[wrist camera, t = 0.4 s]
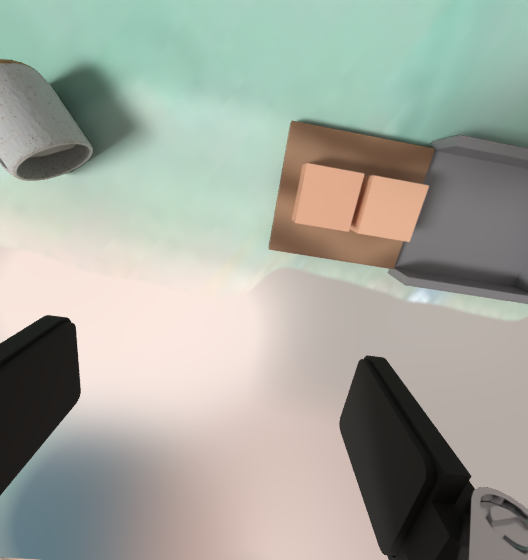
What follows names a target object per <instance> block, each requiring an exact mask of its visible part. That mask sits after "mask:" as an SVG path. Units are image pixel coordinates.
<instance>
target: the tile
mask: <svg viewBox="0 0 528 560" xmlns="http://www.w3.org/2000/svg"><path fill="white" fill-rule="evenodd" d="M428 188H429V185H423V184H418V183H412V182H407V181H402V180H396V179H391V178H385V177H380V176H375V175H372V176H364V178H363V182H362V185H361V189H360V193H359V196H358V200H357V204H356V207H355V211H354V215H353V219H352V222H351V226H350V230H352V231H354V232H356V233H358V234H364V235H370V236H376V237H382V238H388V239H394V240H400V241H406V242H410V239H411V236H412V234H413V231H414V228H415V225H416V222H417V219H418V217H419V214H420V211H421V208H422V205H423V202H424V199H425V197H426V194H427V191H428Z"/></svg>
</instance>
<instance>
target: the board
mask: <svg viewBox="0 0 528 560" xmlns="http://www.w3.org/2000/svg"><path fill="white" fill-rule="evenodd" d="M434 150H435V149H434V148H429V147H424V146H419V145H413V144H408V143H403V142H398V141H393V140H388V139H383V138H378V137H373V136H368V135H363V134H357V133H352V132H347V131H342V130H337V129H332V128H327V127H322V126H317V125H312V124H306V123H301V122H296V121H292V122H291V123H290V128H289V134H288V140H287V145H286V151H285V157H284V163H283V168H282V174H281V180H280V185H279V191H278V197H277V202H276V208H275V214H274V220H273V225H272V231H271V237H270V242H269V250H276V251H282V252H288V253H294V254H301V255H307V256H313V257H320V258H326V259H332V260H339V261H345V262H351V263H358V264H364V265H370V266H377V267H383V268H389V269H394V267H395V264H396V261H397V258H398V255H399V252H400V249H401V247H402V244H403V241H400V240H394V239H388V238H382V237H376V236H370V235H364V234H358V233H356V232H354V231H352V230H349V232H346V231H340V230H334V229H328V228H322V227H316V226H310V225H305V224H299V223H295V222H294V221H293V220H292V216H293V211H294V206H295V201H296V195H297V190H298V185H299V180H300V175H301V170H302V165H303V164H306V163H310V164H315V165H321V166H326V167H331V168H337V169H342V170H348V171H353V172H358V173H364V176H372V175H375V176H380V177H385V178H391V179H396V180H402V181H407V182H412V183H418V184H423V182H424V179H425V176H426V174H427V171H428V168H429V165H430V162H431V159H432V156H433V153H434Z"/></svg>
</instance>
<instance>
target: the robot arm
mask: <svg viewBox="0 0 528 560" xmlns="http://www.w3.org/2000/svg"><path fill="white" fill-rule="evenodd" d="M77 351H78V350H77V338H76V327H75V324H73V323H71V321H70V319H69V318H66V317H58V316H51V315H47V316H44V317H42V318H41V319H39V320H37V321H36V322H34V323H33V324H31V325H29V326H28V327H26V328H24V329H23V330H21V331H20V332H18V333H17V334H15V335H13V336H12V337H10V338H8V339H7V340H5V341H4V342H2V343H0V495H1V494H2V493H3V491H4V490H5V489H6V488H7V486H8V485H9V484H10V483H11V481H12V480H13V479H14V478H15V477H16V476H17V474H18V473H19V472H20V471H21V470H22V468H23V467H24V466H25V465H26V464H27V462H28V461H29V460H30V459H31V458H32V456H33V455H34V454H35V452H36V451H37V450H38V449H39V448H40V447H41V445H42V444H43V443H44V442H45V441H46V439H47V438H48V437H49V436H50V434H51V433H52V432H53V431H54V430H55V428H56V427H57V426H58V425H59V423H60V422H61V421H62V420H63V419H64V417H65V416H66V415H67V414H68V413H69V411H70V410H71V409H72V408H73V407H74V405H75V404H76V403H77V401H78V399H79V397H80V393H81V389H80V376H79V363H78V352H77ZM340 431H341V434H342V437H343V440H344V443H345V446H346V449H347V452H348V455H349V458H350V461H351V464H352V467H353V470H354V473H355V476H356V479H357V482H358V485H359V488H360V491H361V494H362V497H363V500H364V503H365V506H366V509H367V512H368V515H369V518H370V521H371V524H372V527H373V530H374V533H375V535H376V539H377V542H378V545H379V547H380V550H381V551H382V553H383V554H384V555H387V556H388V559H389V560H528V509H526V508H525V507H524V506H523V505H522V504H520V503H518V502H517V501H516V500H514V499H513V498H512V497H510V496H508V495H506V494H504V493H502V492H500V491H498V490H495V489H492V488H488V487H479V488H478V489H476V490H475V489H474V487H473V486H472V484H471V483H470V482H469V479H470V478H471V475H470V474H469V472H468V471H467V469H466V468H465V467H464V465H463V464H462V463H461V461H460V460H459V458H458V457H457V456H456V454H455V453H454V452H453V450H452V449H451V448H450V446H449V445H448V443H447V442H446V441H445V439H444V438H443V437H442V435H441V434H440V433H439V431H438V430H437V428H436V427H435V426H434V424H433V423H432V422H431V420H430V419H429V417H428V416H427V415H426V413H425V412H424V411H423V409H422V408H421V407H420V405H419V404H418V402H417V401H416V400H415V398H414V397H413V396H412V394H411V393H410V392H409V390H408V389H407V387H406V386H405V385H404V383H403V382H402V381H401V379H400V378H399V376H398V375H397V374H396V372H395V371H394V370H393V368H392V367H391V366H390V364H389V363H388V362H387V360H386V359H385V358H383V357H375V356H366V357H365V358H364V359H361V360H360V361H359V362H358V365H357V368H356V372H355V375H354V378H353V381H352V384H351V387H350V390H349V393H348V396H347V399H346V402H345V405H344V408H343V411H342V414H341V417H340ZM0 560H37V559H19V558H2V557H0Z"/></svg>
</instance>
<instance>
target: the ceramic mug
mask: <svg viewBox="0 0 528 560" xmlns="http://www.w3.org/2000/svg"><path fill="white" fill-rule="evenodd" d="M92 154H93V148H92V146H91V144H90V143H89V141H88V140H87V138H86V137H85V136H84V134H83V133H82V131H81V129H80V128H79V126H78V125H77V123H76V122H75V121H74V119H73V118H72V116H71V115H70V113H69V112H68V111H67V109H66V108H65V106H64V105H63V103H62V102H61V100H60V98H59V97H58V95H57V94H56V92H55V91H54V90H53V88H52V87H51V86H50V84H49V83H48V82H47V81H46V80H45V79H44V78H43V76H42V75H41V74H40V73H39V72H37V71H36V70H35V69H34V68H32V67H30V66H28V65H26V64H24V63H22V62H17V61H13V60H6V59H0V164H1V166H2V167H3V168H4V169H5V170H6V171H7V172H8V173H10V174H11V175H13V176H15V177H16V178H18V179H20V180H26V181H35V180H44V179H49V178H53V177H57V176H60V175H63V174H66V173H68V172H70V171H72V170H74V169H76V168H78V167H80V166H81V165H83V164H84V163H85V162H86V161H87V160H89V159H90V157H91V155H92Z"/></svg>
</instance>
